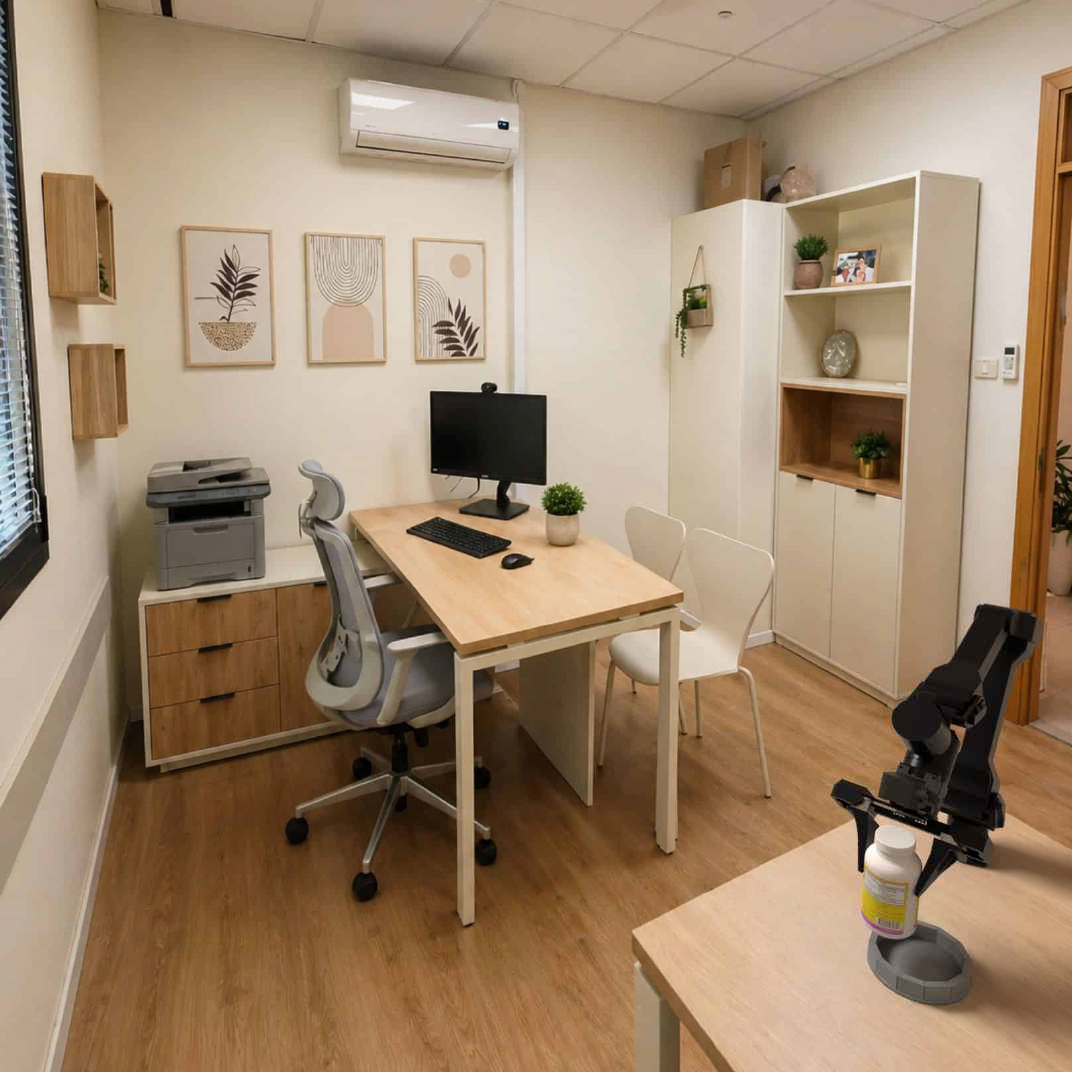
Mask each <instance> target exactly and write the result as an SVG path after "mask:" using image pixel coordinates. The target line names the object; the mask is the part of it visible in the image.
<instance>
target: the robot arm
mask: <svg viewBox="0 0 1072 1072" xmlns="http://www.w3.org/2000/svg"><path fill="white" fill-rule="evenodd" d="M1043 632H1044V622H1043V620H1041V619H1039V618H1038V617H1037V613H1036V612H1035V611H1028V610H1023V609H1019V608H1014V607H1013V608H1012V607H1008V606H1004V605H1003V606H1002V605H998V604H997V605H996V604H991V603H983V604H982V603H979V604H978V605H976V607H975V611H974V614H973V621H972V622H971V625H970V626H969V628H968V630H967V632H966V633H965V635H964V636H963V638H962V640H961V641H960V643H959V645H958V646H957V647H956V650H955V652H954V653H953V655H952V657H951V658H950V660H949V662H947V663H943V664H941V665H939V666H935V667H934V668H932V670H931V671H930V672H929V674H928V675H927V676H926V678H925V679H924V680H922V681H921V682H920V683H919V684H918V685H917V686H916V687H915V689H914V690H913V691H912V692H911V693H910V695H909V696H908V697H907V698H906V699H905V700H903V701H902V702H900V703H899V704H897V706H896V707H895V708H893V711H892V713H891V725H892V726H893V729H894V731H895V732H896V734H897V735H898V737H899V738H900V739H901V741H902V742H903V744H904V746H905V747H906V748H907V750H906V752H905V755H904V758H903V760H902V761H900V762H899V764H898V765H897V768H896V771H882V775H881V776H882V777H881V780H880V785H879V790H878V793H877V798H876V796H874V795H873V793H872V792H871V791H870V790H869V789H868V788H867V786H863V785H860V784H857V783H855V782H852V781H849V780H846V779H843V778H841V779H839V780H837V781H836V782H835V783H834V784H833V787H832V790H831V793H830V797H831V798H832V799H833V800H834V802H836V804H838V806H839V807H840V808H841V809H844V810H846V811H847V812H848V813H849V814H850V815H851V816H852V817H853V819H854V821H855V825H856V826H855V828H856V833H857V872H858V873H861V874H864V860H865V853H866V850H867V849H868V848H869V846H871V845H872V844H874V843H875V842H874V839H875V832H876V830H877V829H878V828H879V827H880V824H879V823H878V822H877V821H876V820H875V818H876V817H877V816H878V815H879V816H882V817H884V818H887V819H889V820H892V821H894V822H898V823H900V824H902V825H905V826H907V827H911V828H914V829H916V830H919V831H922V832H924V833H926V834H928V835H929V834H930V835H932V836H934V837H933V839H932V845H931V848H930V853H929V855H928V857H927V860H926V863H925V864H924V866H923V868H922V873H921V876H920V878H919V880H918V883H917V886H916V890H915V896H916V897H918V898H919V899H920V897H921V896H922V895H924V893H925V892H926V891H927V890H928V888H930V887H931V885H932V884H933V883H934V882H936V880H937V879H938V878H939V877H940V876H941V875H942V874H943V873H945V871H947V870H948V869H949V868H951V867H952V866H953V865H954V864H955V863H956V862H958V861H960V862H963V863H969V864H973V865H976V866H977V865H978V866H980V867H985V868H986V867H988V864H989V865H990V864H991V862H992V857H993V855H994V850H995V844H994V842H993V841H992V839H991V838H990V836H989V833H990V831H991V832H993V833H994V832H995V831H996V829H1003V828H1005V824H1006V823H1005V822H1006V806H1007V804H1006V802H1005V801H1004V799H1003V796H1002V794H1001V793H999V792H1000V788H1001V787H1000V786H1001V779H1000V777H999V775H998V771H997V768H996V767H995V763H994V759H995V755H996V752H997V751H996V750H997V747H998V744H999V740H1000V739H999V738H1000V735H1001V731H1002V728H1003V727H1002V726H1003V725H1004V724H1003V723H1004V719H1005V715H1006V712H1007V707H1008V703H1009V698H1010V695H1011V691H1012V687H1013V685H1014V679H1015V675H1016V672H1017V669H1018V668H1019V667H1020V666H1021V665H1022V664H1024V663H1025V662H1026V661H1027V660H1028V659H1030V658H1031V657H1032V656H1033V654H1034V650H1035V647H1036V644H1037V645H1038V644H1040V642H1041V639H1042V637H1043ZM952 725H953V726H957V727H960V728H962V729H963V728H964V729H965V730H964V731H965V732H964V735H963V738H962V743H961V741H960V739H959V737H958V735H957V733H956V730H955V729H952V728H951V727H952ZM878 798H879V799H878ZM884 800H885V801H884ZM887 801H888V802H887ZM939 812H940V813H943V814H946V815H947V818H946V823H945V822H942V821H939V817H938V816H939Z"/></svg>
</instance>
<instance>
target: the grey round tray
mask: <svg viewBox="0 0 1072 1072" xmlns="http://www.w3.org/2000/svg"><path fill="white" fill-rule="evenodd" d="M869 936H870V937H869V939H868V943H867V944H868V945H867V955H866V956H867V957H866V958H867V962H868V965H869V968H870V971H872V973H873V974H874V976H875V978H876V979H878V980H879V982H880V983H882V984H883V985H884V986H885V987H886V988H888V989H889V990H890V991H892V992H894V994H897V995H899V996H901V997H903V998H905V999H907V1000H910V1001H913V1002H915V1003H920V1004H925V1005H931V1006H945V1005H951V1004H954V1003H957V1002H959V1001H961V1000H963V999H964V998H965V997H966V996H967V995H968V994H969V992H970V989H971V986H972V966H973V965H972V964H973V959H972V958H971V956H970V955H969V953H968V951H967V949H966V948H965V947H964V945H963V943H962V942H961V941H960V940H959V939H957V938H956V937H954V936H953V935H951V934H950V933H948V931H946V930H944V929H943V928H942V927H940V926H937V925H934V924H931V923H928V922H925V921H922V920H919V919H917V925H916V929H915V931H914V933H913V934H912V935H911V936H909V937H906V938H903V939H890V938H886V937H883V936H880V935H878V934H876V933H875V932H873V931H872V930H871V933H870V935H869Z"/></svg>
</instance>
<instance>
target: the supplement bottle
mask: <svg viewBox="0 0 1072 1072" xmlns="http://www.w3.org/2000/svg"><path fill="white" fill-rule="evenodd" d="M916 850H917V839H916V837H915V835H914V834H913V833H912V832H910V831H909V830H908V829H906V828H903V827H900V826H898V825H888V824H887V825H882V826H879V828H878V829H877V830H876V832H875V839H874V844H872V845H871V846H869V848H868V849H867V850H866V853H865V860H864V872H863V873H862V874H863V875H862V876H863V877H862V885H861V886H862V889H861V901H860V918H861V920H862V922H863V924H864V925H865V926H866V927H867V928H868V929H869V930H870V931H871V932H872V931H873V932H875V933H876V934H878V935H880V936H883V937H886V938H890V939H903V938H906V937H909V936H911V935H912V934H913V933H914V931H915V929H916V925H917V920H918V915H919V906H920V905H919V904H920V897H919V898H918V897H916V896H915V890H916V886H917V883H918V880H919V878H920V876H921V873H922V871H923V862H922V860H921V858H920V856H919V855H918V853H916Z"/></svg>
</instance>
